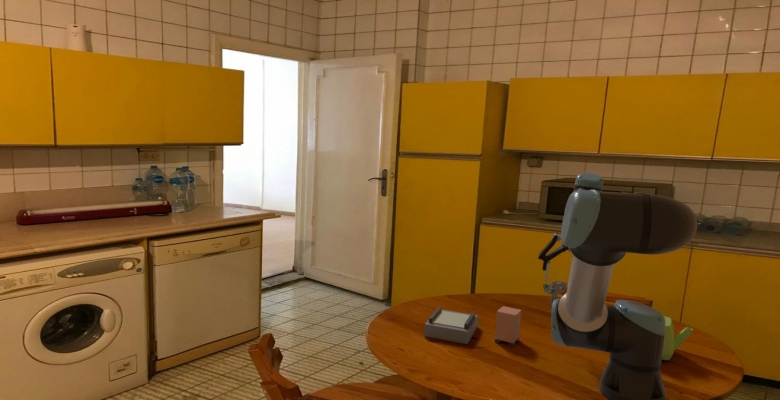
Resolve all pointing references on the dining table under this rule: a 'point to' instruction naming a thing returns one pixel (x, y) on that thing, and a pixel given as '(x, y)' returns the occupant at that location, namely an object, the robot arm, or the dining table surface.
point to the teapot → (673, 339)
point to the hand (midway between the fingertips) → (567, 284)
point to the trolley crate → (508, 325)
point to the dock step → (451, 326)
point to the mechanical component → (555, 289)
